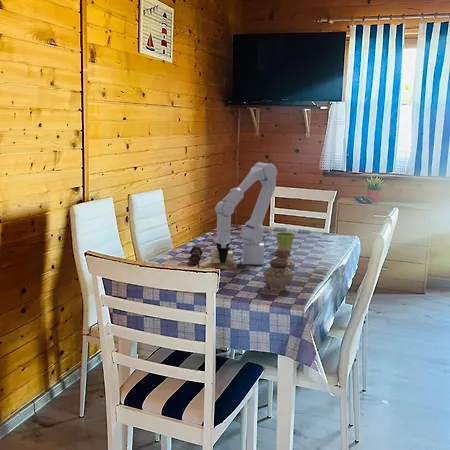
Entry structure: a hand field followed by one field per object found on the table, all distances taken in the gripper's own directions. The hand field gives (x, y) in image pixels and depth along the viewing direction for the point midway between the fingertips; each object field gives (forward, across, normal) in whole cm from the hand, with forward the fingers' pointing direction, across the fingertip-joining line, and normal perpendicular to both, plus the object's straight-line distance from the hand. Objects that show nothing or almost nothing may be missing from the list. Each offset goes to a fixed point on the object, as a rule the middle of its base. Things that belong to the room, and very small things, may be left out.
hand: (222, 261), depth 233 cm
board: (+2, 0, -2) cm, 3 cm away
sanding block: (+1, 0, 0) cm, 1 cm away
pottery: (+2, +24, +21) cm, 33 cm away
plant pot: (+2, -30, +31) cm, 43 cm away
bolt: (+3, -8, -12) cm, 14 cm away
